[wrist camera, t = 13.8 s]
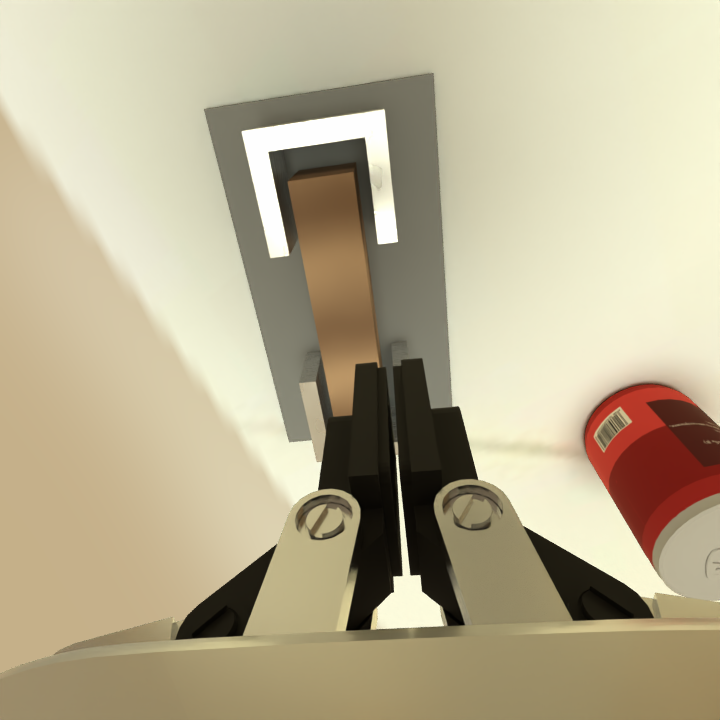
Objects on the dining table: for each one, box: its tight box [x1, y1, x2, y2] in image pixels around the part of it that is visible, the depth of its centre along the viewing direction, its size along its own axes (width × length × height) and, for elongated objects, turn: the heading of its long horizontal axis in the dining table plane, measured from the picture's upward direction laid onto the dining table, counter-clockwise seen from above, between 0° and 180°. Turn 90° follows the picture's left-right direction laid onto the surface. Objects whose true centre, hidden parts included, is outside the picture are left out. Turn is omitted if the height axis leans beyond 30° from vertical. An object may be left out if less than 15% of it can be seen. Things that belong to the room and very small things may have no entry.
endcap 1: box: [242, 108, 398, 258], centre depth 25 cm, size 6×7×4 cm
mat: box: [204, 73, 452, 442], centre depth 30 cm, size 22×12×1 cm, turn 8°
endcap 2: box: [299, 341, 409, 462], centre depth 32 cm, size 6×7×4 cm
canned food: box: [585, 384, 720, 601], centre depth 30 cm, size 8×8×11 cm
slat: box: [287, 162, 383, 417], centre depth 29 cm, size 16×3×4 cm, turn 8°
